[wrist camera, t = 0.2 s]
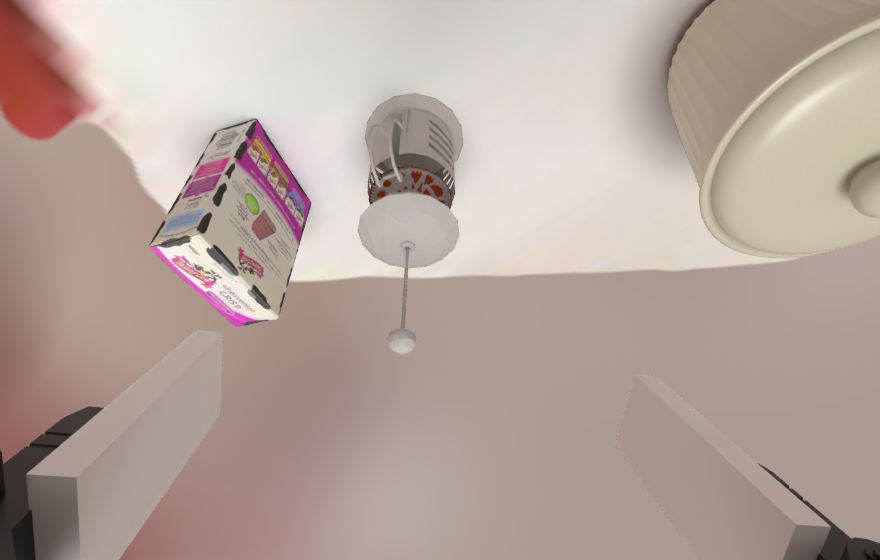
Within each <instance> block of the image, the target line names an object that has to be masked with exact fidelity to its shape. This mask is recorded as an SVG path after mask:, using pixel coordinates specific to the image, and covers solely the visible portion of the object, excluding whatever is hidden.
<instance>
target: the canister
mask: <svg viewBox="0 0 880 560" xmlns="http://www.w3.org/2000/svg"><path fill="white" fill-rule="evenodd" d="M667 87H668V100H669V104H670V107H671V111H672V114H673V118H674V121H675V124H676V126H677V129H678V132H679V135H680V138H681V141H682V143H683V146H684V149H685V151H686V154H687V156H688V159H689V161H690V164H691V166H692V169H693V171H694V174H695V177H696V179H697V182H698V184H699V187H700V191H699V205H700V211H701V215H702V218H703V221H704V223H705V225H706V227H707V228H708V230H709V231H710V232H711V234H712V235H713V236H714V237H715V238H716V239H717V240H718V241H720V242H721V243H722V244H724V245H725V246H727V247H729V248H731V249H733V250H735V251H738V252H741V253H744V254H748V255H752V256H758V257H766V258H793V257H803V256H810V255H816V254H820V253H826V252H830V251H834V250H838V249H841V248H845V247H848V246H851V245H855V244H858V243H861V242H864V241H867V240H870V239H873V238H875V237H878V236H880V0H715V1H714V2H713V3H711V4H710V5H709V6H707V7H705V9H704V11H703V12H702V13H701V14H700V15H699V16H698V17H697V18H696V19H694V22H693V23H692V25H691V26H690V28H689V29H688V30H687V31H686V32H685V35H684V37H683V39H682V40H681V42H680V43H679V44H678V46H677V50H676V53H675V54H674V56H673V58H672V65H671V67H670V69H669V79H668V84H667Z"/></svg>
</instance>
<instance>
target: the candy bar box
mask: <svg viewBox="0 0 880 560" xmlns="http://www.w3.org/2000/svg"><path fill="white" fill-rule="evenodd" d="M310 206H311V202H310V201H309V199H308V198H307V196H306V195H305V193H304V191H303V190H302V188H301V187H300V186H299V184H298V183H297V181H296V180H295V178H294V177H293V175H292V174H291V172H290V171H289V169H288V168H287V166H286V165H285V163H284V162H283V160H282V158H281V157H280V155H279V154H278V152H277V151H276V149H275V148H274V146H273V145H272V143H271V142H270V140H269V139H268V137H267V135H266V134H265V132H264V131H263V129H262V128H261V126H260V125H259V123H258V122H257V120H252V121H248V122H245V123H243V124H240V125H236V126H233V127H229V128H225V129H222V130H219V131H217V132H215V134H214V135H213V137H212V139H211V141H210V142H209V144H208V146H207V147H206V149H205V151H204V153H203V154H202V156H201V158H200V159H199V161H198V163H197V165H196V167H195V168H194V170H193V171H192V173H191V175H190V177H189V178H188V180H187V182H186V184H185V185H184V187H183V189H182V190H181V192H180V194H179V195H178V197H177V199H176V201H175V202H174V204H173V206H172V207H171V209H170V211H169V212H168V215H167V216H166V217H165V219H164V221H163V223H162V224H161V226H160V228H159V230H158V231H157V233H156V235H155V236H154V238H153V240H152V242H151V243H150V245H149V246H148V248H149V249H150V250H151V251H152V252H153V253H155V254H156V255H157V256H158V257H159V258H160V259H161V260H162V261H163V262H164V263H166V264H167V265H168V266H169V267H170V268H171V269H172V270H173V271H174V272H176V273H177V274H178V275H179V276H180V277H181V278H182V279H183V280H184V281H185V282H186V283H187V284H189V285H190V286H191V287H192V288H193V289H194V290H195V291H196V292H197V293H198V294H200V295H201V296H202V297H203V298H204V299H205V300H206V301H207V302H208V303H209V304H210V305H211V306H212V307H214V308H215V309H216V310H217V311H218V312H219V313H220V314H221V315H222V316H223V317H225V318H226V319H227V320H228V321H229V322H230V323H231V324H232V325H233V326H234V327H239V326H245V325H249V324H253V323H257V322H262V321H268V320H273V319H278V318H279V314H280V311H281V307H282V304H283V300H284V297H285V293H286V290H287V286H288V282H289V279H290V276H291V272H292V269H293V266H294V262H295V259H296V254H297V251H298V248H299V245H300V241H301V237H302V234H303V230H304V227H305V224H306V220H307V217H308V213H309V210H310Z"/></svg>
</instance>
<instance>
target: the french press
mask: <svg viewBox="0 0 880 560" xmlns="http://www.w3.org/2000/svg"><path fill="white" fill-rule="evenodd" d="M365 140H366V144H367V147H368V151H369V155H370V161H371V166H370V172H369V177H370V184H371V189H370V187H369V178H368V195H369V202H370V206H369V207H368V208H367V209H366V210H365V212H364V213H363V214H362V215H361V216H360V221H359V227H358V233H359V236H360V239H361V242H362V245H363V246H364V247H365V248H366V249H367V250H368V251H369V252H370V253H371V254H372V255H373V256H374V257H375V258H377V259H379V260H381V261H383V262H385V263H387V264H389V265H392V266H398V267H404V268H405V274H404V290H403V306H402V323H401V329H396V330H393V331H391V332H390V333H389V335H388V343H389V346H390V348H391V350H392V351H395V352H397V353H400V354H402V355H403V354H405V353H407V352H410V351H411V350H412V349H413V348H414V347H415V344H416V335H415V333H413V332H412V331H410V330H408V329H405V313H406V295H407V279H408V268H416V267H426V266H428V265H431V264H433V263H436V262H438V261H440V260H442V259H443V258H444V257H446V256H447V255H448V254H449V253H450V252H451V251H452V250H453V249H454V247H455V245H456V242H457V240H458V238H459V229H458V221H457V219H456V218H455V216H454V215H453V214H452V212H451V211H450V208H451V205H452V201H453V198H454V195H455V178H454V163H455V162H456V161H457V160H458V157H459V154H460V151H461V148H462V146H463V137H462V128H461V125H460V123H459V122H458V120H457V118H456V117H455V115H454V113H453V112H452V110H451V109H449V108H448V107H447V106H445V105H444V104H442V103H441V102H440V101H438V100H437V99H435V98H431V97H427V96H423V95H419V94H408V95H401V96H395V97H393V98H391V99H390V100H388V101H386V102H384V103H383V104H381V105H379V106H378V107H377V109H376V110H375V111H374V113H373V114H372V116H371V117H370V119H369V120H368V122H367V129H366V135H365ZM452 166H453V167H452ZM376 167H378V168H379V169H381V170H382V171H384V172H385V173H383V174H381V173H380V172H378V171H377V170H376ZM451 167H452V168H451ZM448 172H449V173H450V174H449V175H448V177H447V178H446V179H445V181H443V178H444V177H445V176H446V175H447V173H448ZM443 173H444V174H443ZM371 175H372V178H373V180H374V183H373V182H372V180H371ZM378 176H379V177H378ZM451 176H452V178H451V180H450V182H449V184H448V185H446V182H447V181H448V180H449V179H450V177H451ZM453 179H454V182H453V185H452V187H451V189H449V187H450V185H451V183H452V181H453Z"/></svg>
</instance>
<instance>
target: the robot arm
mask: <svg viewBox="0 0 880 560" xmlns="http://www.w3.org/2000/svg"><path fill="white" fill-rule="evenodd" d="M222 350H223V333H222V332H212V331H202V330H196V331H195V332H193V333H192V334H191V335H190V336H189V337H187V338H186V339H185V340H184V341H183V342H182V343H181V344H179V345H178V346H177V347H176V348H174V349H173V350H172V351H171V352H170V353H169V354H167V355H166V356H165V357H164V358H163V359H161V360H160V361H159V362H158V363H157V364H156V365H154V366H153V367H152V368H151V369H150V370H149V371H147V372H146V373H145V374H144V375H143V376H142V377H140V378H139V379H138V380H137V381H136V382H134V383H133V384H132V385H131V386H130V387H128V388H127V389H126V390H125V391H124V392H123V393H121V394H120V395H119V396H118V397H117V398H115V399H114V400H113V401H112V402H111V403H110V404H108V405H107V406H106V407H105V408H100V407H86V408H84V409H82V410H80V411H77V412H75V413H73V414H71V415H68V416H66V417H64V418H62V419H61V420H60V421H59V422H57V423H56V424H55V425H54V426H52V427H51V428H50V429H48V430H47V431H46V432H45V434H44V435H43V434H42V435H40V436H39V437H38V438H37V439H35V440H34V441H33V442H31V443H30V446H29V447H25V448H24V449H22V450H21V451H20V452H19V453H17V454H16V455H15V456H13V457H12V458H11V459H10V460H8V461H7V462H6V463H4V464H3V461H2V452H1V451H0V560H119V559H120V557H121V556H122V554H123V553H124V551H125V550H126V548H127V547H128V546H129V544H130V543H131V541H132V540H133V538H134V537H135V536H136V534H137V533H138V531H139V530H140V529H141V527H142V526H143V524H144V523H145V521H146V520H147V519H148V517H149V516H150V514H151V513H152V511H153V510H154V509H155V507H156V506H157V504H158V503H159V501H160V500H161V499H162V497H163V496H164V494H165V493H166V491H167V490H168V489H169V487H170V486H171V484H172V483H173V481H174V480H175V479H176V477H177V476H178V474H179V473H180V471H181V470H182V468H183V467H184V466H185V464H186V463H187V461H188V460H189V459H190V457H191V456H192V454H193V453H194V451H195V450H196V449H197V447H198V445H199V444H200V443H201V441H202V440H203V438H204V437H205V436H206V434H207V433H208V431H209V430H210V429H211V427H212V426H213V424H214V423H215V421H216V420H217V419H218V417H219V416H220V408H221V407H220V406H221V380H222ZM616 449H617V450H618V451H619V452H620V454H621V455H622V456H623V458H624V459H625V461H626V462H627V463H628V465H629V466H630V468H631V469H632V470H633V472H634V473H635V474H636V476H637V477H638V478H639V480H640V481H641V482H642V484H643V485H644V486H645V488H646V489H647V491H648V492H649V493H650V495H651V496H652V497H653V499H654V500H655V501H656V503H657V504H658V505H659V507H660V508H661V509H662V511H663V512H664V513H665V515H666V516H667V518H668V519H669V520H670V522H671V523H672V524H673V526H674V527H675V528H676V530H677V531H678V532H679V534H680V535H681V536H682V538H683V539H684V541H685V542H686V543H687V545H688V546H689V547H690V549H691V550H692V551H693V553H694V554H695V555H696V557H697V558H698V559H699V560H880V543H877V542H874V541H871V540H868V539H862V538H852V539H851V538H850V537H849V536H847V535H846V534H845V533H844V532H843V531H842V530H840V529H839V528H838V527H837V526H836V525H835V524H833V523H832V522H831V521H830V520H829V519H827V518H826V517H825V516H824V515H823V514H821V513H820V512H819V511H818V510H817V509H815V508H814V507H813V506H812V505H811V504H810V503H809V502H807V501H804V500H803V497H801V496H800V495H799V494H798V493H797V492H796V491H794V490H793V489H790V488H789V486H788V485H787V484H786V483H785V482H784V481H783V480H781V479H780V478H779V477H778V476H776V475H775V474H774V473H773V472H772V471H770V470H768V469H767V468H765V467H763V466H762V465H760V464H758V463H757V462H755V461H754V460H753V459H752V458H751V457H749V456H748V455H747V454H746V453H745V452H744V451H742V450H741V449H740V448H739V447H738V446H737V445H735V444H734V443H733V442H732V441H731V440H730V439H729V438H727V437H726V436H725V435H724V434H723V433H722V432H720V431H719V430H718V429H717V428H716V427H714V426H713V425H712V424H711V423H710V422H709V421H708V420H706V419H705V418H704V417H703V416H702V415H701V414H699V413H698V412H697V411H696V410H694V408H692V407H691V406H690V405H689V404H688V403H686V402H685V401H684V400H683V399H682V398H681V397H680V396H678V395H677V394H676V393H675V392H674V391H673V390H672V389H670V388H669V387H668V386H667V385H666V384H664V383H663V382H662V381H661V380H660V379H659V378H658V377H656V376H649V375H639V374H635V375H634V378H633V382H632V386H631V389H630V393H629V397H628V401H627V405H626V409H625V413H624V416H623V420H622V424H621V427H620V431H619V435H618V439H617V443H616Z"/></svg>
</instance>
